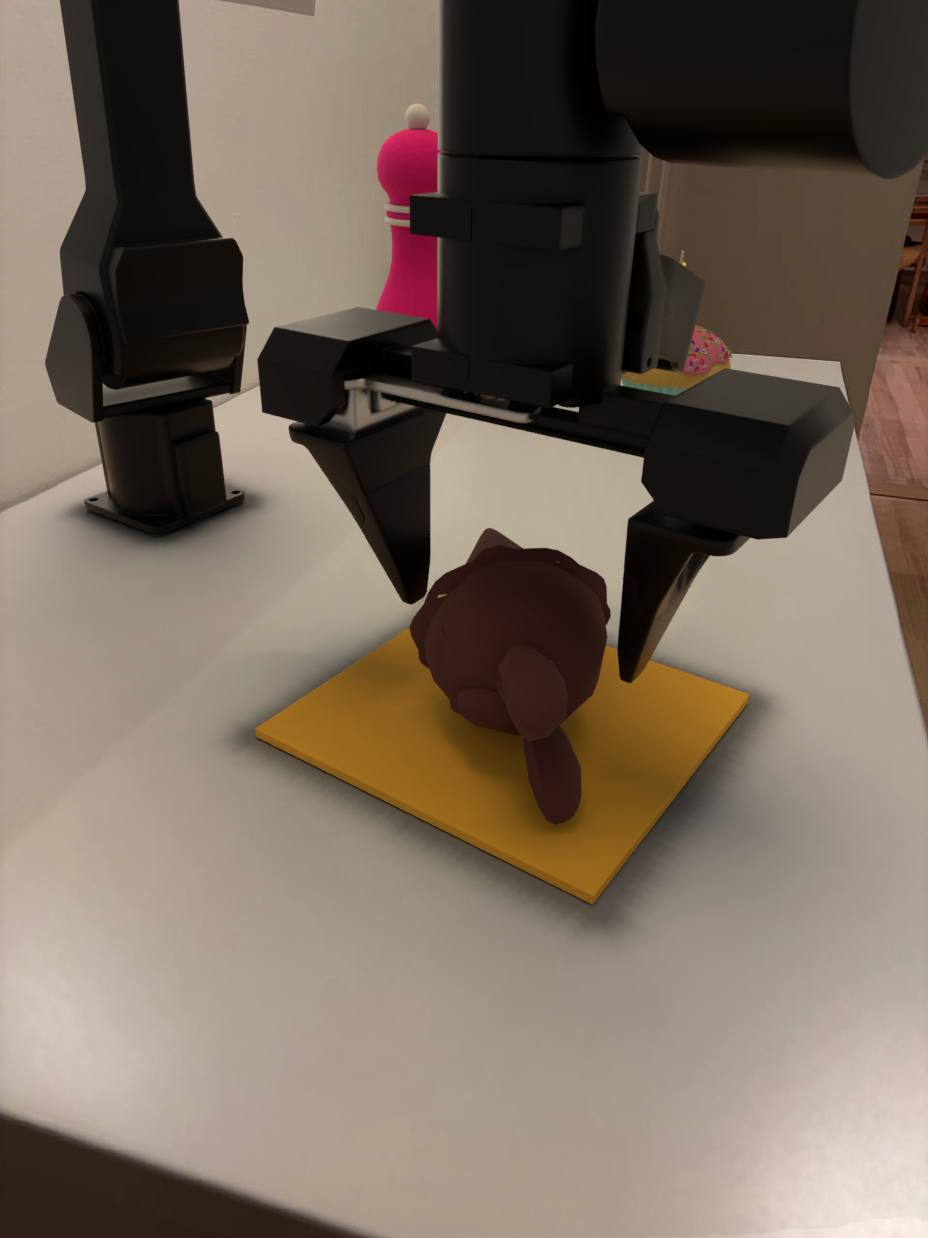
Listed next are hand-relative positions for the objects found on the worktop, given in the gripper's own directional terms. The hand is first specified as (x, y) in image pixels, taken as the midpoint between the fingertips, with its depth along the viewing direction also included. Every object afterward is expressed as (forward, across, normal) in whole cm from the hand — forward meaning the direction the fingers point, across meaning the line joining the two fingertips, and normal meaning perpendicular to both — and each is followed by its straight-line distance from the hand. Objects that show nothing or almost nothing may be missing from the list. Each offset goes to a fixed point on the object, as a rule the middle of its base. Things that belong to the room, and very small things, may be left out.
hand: (516, 635), depth 34 cm
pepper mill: (+4, +31, -35) cm, 47 cm away
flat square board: (+4, 0, 0) cm, 4 cm away
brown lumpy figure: (+4, 0, 0) cm, 4 cm away
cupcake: (+4, +11, -38) cm, 40 cm away
